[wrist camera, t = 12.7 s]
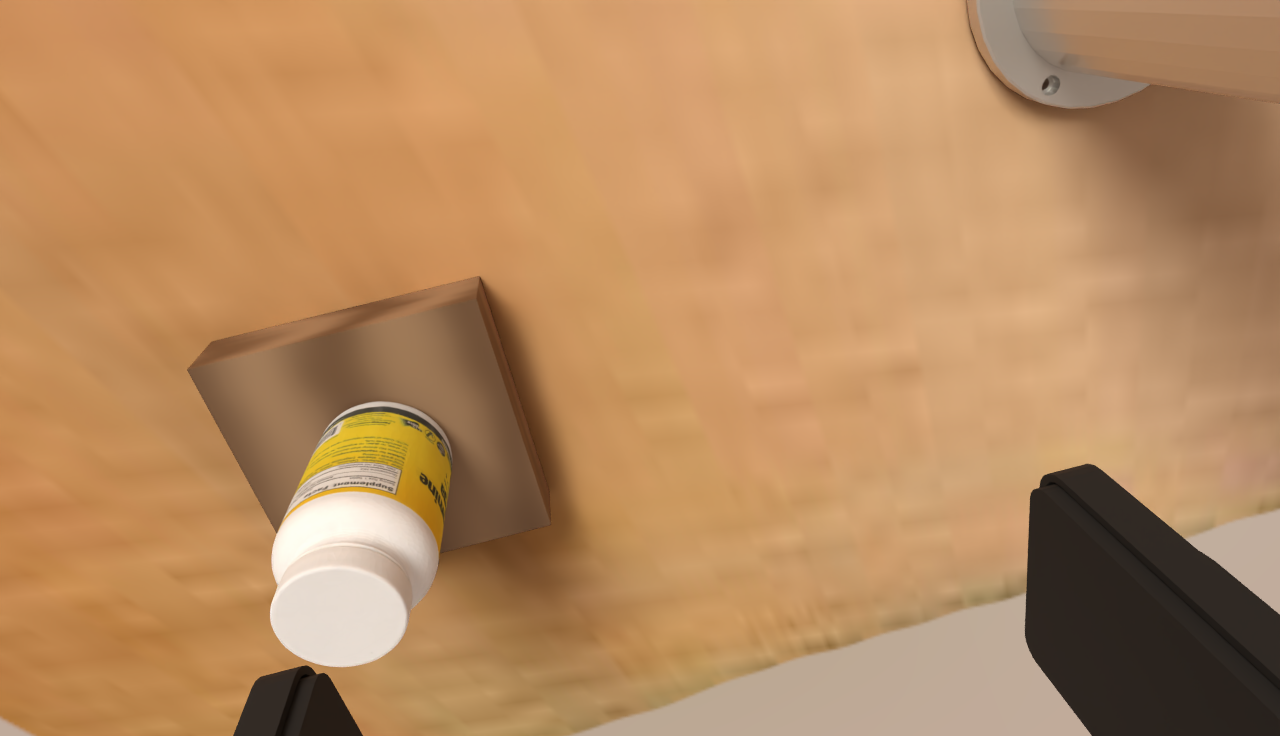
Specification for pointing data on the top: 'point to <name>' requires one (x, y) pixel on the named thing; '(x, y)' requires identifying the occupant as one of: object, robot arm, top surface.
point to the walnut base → (389, 372)
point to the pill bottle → (361, 535)
